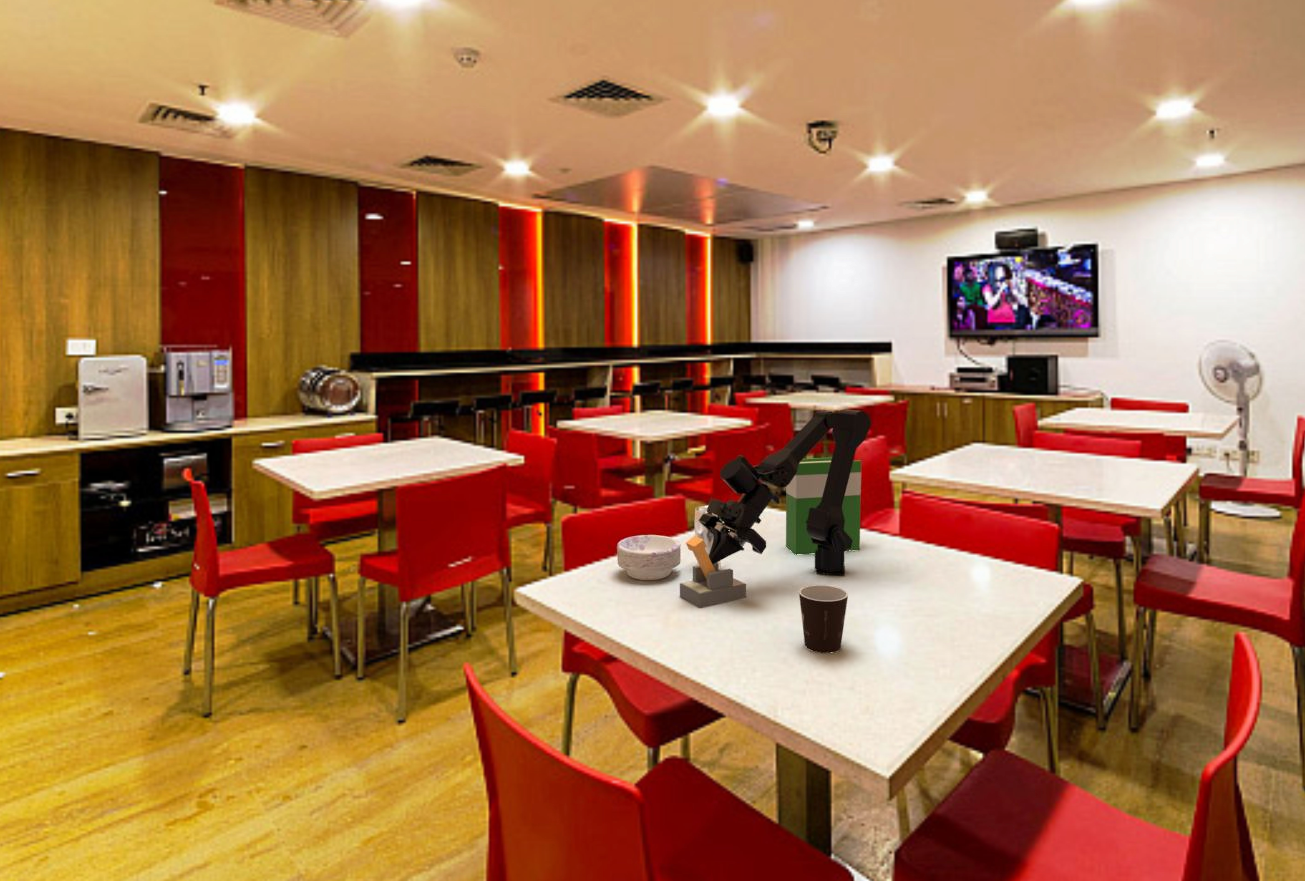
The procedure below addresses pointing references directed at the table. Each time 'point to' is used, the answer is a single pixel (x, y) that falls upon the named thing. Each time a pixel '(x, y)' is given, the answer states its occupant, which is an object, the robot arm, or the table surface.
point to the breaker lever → (700, 554)
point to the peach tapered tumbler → (704, 530)
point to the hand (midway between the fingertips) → (709, 563)
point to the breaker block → (712, 587)
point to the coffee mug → (823, 617)
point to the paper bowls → (648, 556)
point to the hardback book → (809, 494)
